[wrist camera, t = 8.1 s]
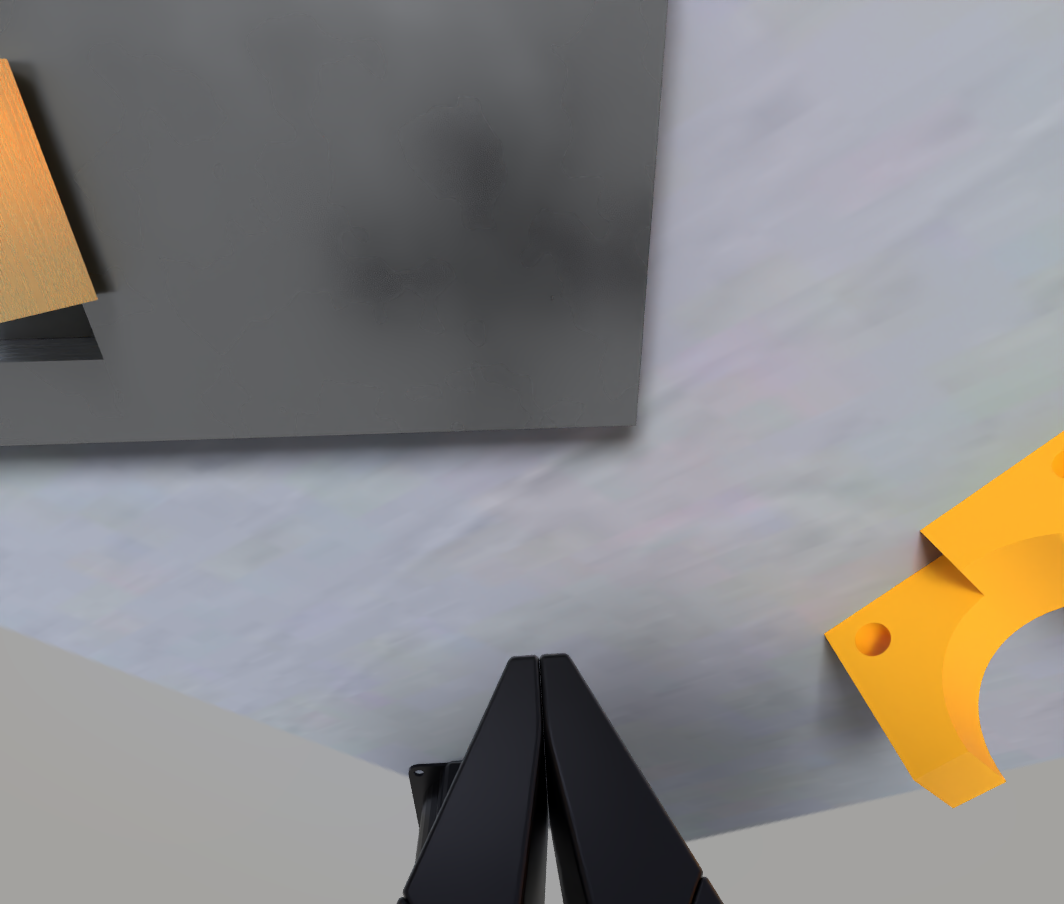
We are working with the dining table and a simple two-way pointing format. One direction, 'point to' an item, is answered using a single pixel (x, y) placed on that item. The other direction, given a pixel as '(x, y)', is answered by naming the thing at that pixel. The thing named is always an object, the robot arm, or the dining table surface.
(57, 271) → the gold block with knob
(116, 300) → the dark grey slab
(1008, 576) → the pipe clamp
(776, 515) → the dining table surface
